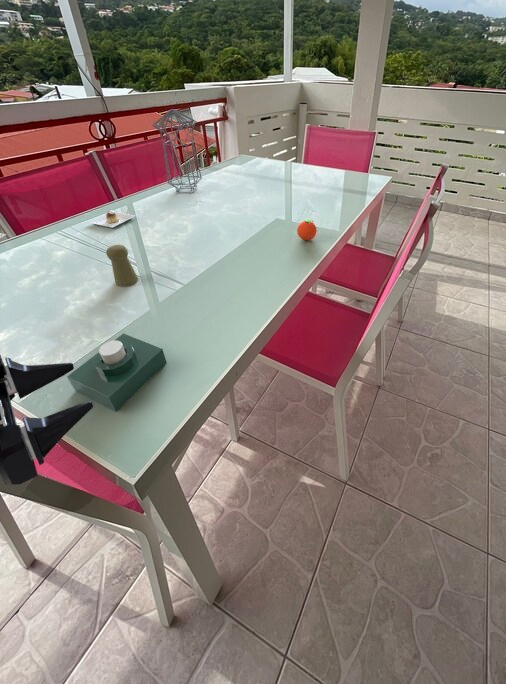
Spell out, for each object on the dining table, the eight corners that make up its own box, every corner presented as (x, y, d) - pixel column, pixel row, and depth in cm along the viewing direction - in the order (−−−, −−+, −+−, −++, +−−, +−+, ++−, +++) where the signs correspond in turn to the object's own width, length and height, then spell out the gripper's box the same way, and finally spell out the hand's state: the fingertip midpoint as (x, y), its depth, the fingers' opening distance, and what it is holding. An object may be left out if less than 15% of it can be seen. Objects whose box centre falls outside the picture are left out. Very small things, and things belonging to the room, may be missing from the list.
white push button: (113, 367, 61) (109, 358, 60) (98, 360, 63) (93, 351, 61) (130, 353, 64) (126, 344, 63) (115, 347, 66) (111, 337, 64)
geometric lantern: (165, 195, 154) (146, 111, 134) (177, 184, 167) (161, 106, 147) (198, 196, 154) (185, 112, 134) (207, 185, 167) (196, 107, 147)
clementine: (305, 232, 123) (305, 214, 119) (321, 237, 120) (322, 218, 116) (293, 240, 117) (293, 222, 113) (309, 245, 114) (310, 226, 110)
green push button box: (116, 411, 60) (105, 390, 57) (75, 390, 64) (62, 369, 60) (167, 362, 70) (160, 342, 66) (128, 347, 74) (120, 326, 70)
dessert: (88, 225, 126) (84, 213, 123) (113, 213, 135) (109, 202, 133) (113, 230, 123) (109, 218, 120) (136, 218, 132) (133, 206, 129)
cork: (125, 288, 92) (113, 254, 86) (110, 283, 94) (97, 249, 88) (142, 278, 96) (132, 244, 90) (128, 273, 98) (116, 240, 92)
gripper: (-114, 461, 28) (93, 380, 38) (-106, 345, 39) (53, 306, 49) (-63, 530, 33) (107, 443, 43) (-68, 410, 44) (69, 363, 54)
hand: (82, 383), depth 47 cm, fingers open, 9 cm apart
